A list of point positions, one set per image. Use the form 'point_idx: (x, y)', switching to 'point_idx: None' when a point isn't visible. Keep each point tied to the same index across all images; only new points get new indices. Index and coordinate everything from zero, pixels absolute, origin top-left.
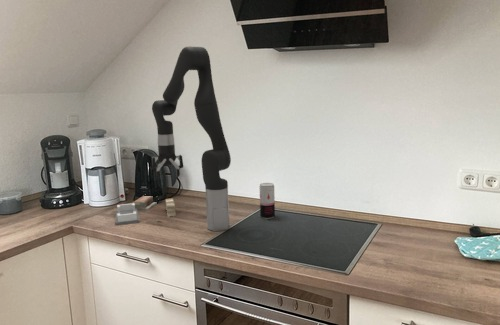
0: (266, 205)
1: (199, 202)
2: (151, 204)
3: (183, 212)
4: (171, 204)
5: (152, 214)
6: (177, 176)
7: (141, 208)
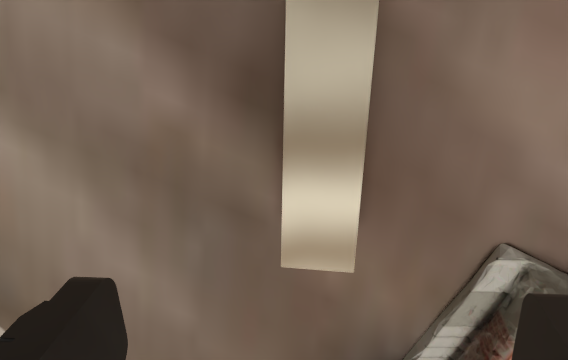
0: None
1: (83, 271)
2: (456, 334)
3: (218, 53)
4: (319, 48)
5: (496, 103)
6: (88, 281)
7: (558, 273)
